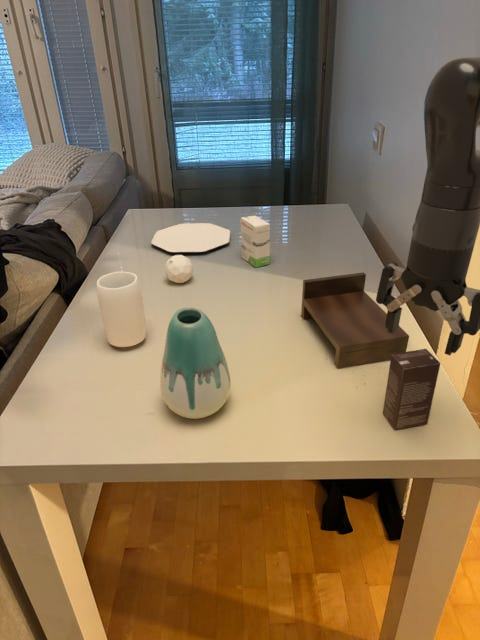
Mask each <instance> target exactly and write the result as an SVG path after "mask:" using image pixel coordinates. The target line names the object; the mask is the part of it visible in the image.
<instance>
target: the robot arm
mask: <svg viewBox="0 0 480 640" xmlns="http://www.w3.org/2000/svg"><path fill="white" fill-rule="evenodd" d="M423 104H424V105H423V123H424V124H423V126H424V139H425V152H426V161H427V168H426V172H425V177H424V182H423V188H422V193H421V198H420V203H419V206H418V209H417V210H416V211H417V212H416V215H415V218H414V223H413V225H412V230H411V231H412V234H411V240H410V244H409V250H408V255H407V261H406V267H405V268H404V267H401V266H399V264H398V263H397V262H395V261H392V262H390V263H389V264H387V265H385V267H383V268H382V271H381V275H380V279H379V283H378V288H377V292H376V297H375V302H376V303H377V304H378V305H383V306H384V307H385V308H386V310H387V312H386V313H387V317H386V323H385V326H386V328H388V333H391V334H393V333H394V332H395V331H396V330H397V329H398V327H399V326H400V320H401V316H402V311H403V307H401V306H403V305H404V304H406V303H407V302H408V301H410V300H411V301H412V302H413V304H414V305H415V306H418V307H425V308H427V309H429V310H430V311H434V312H438V311H439V312H440V314H441V316H442V318H443V320H444V321H445V322H447V325H448V326H449V328H450V330H451V331H449V334H448V339H447V342H446V346H445V350H444V354H445V355H446V356H451V355H452V354H456V353H457V352H458V350H459V349H460V348H461V346H462V343H463V340H464V336H465V334H466V335H467V334H468V335H469V336H472V337H473V336H475V335H477V334H478V333H479V331H480V289H477V288H473V287H469V286H467V282H466V279H467V275H468V271H469V268H470V264H471V260H472V257H473V253H474V248H475V244H476V241H477V237H478V233H479V230H480V150H479V149H477V140H476V139H477V129H478V128H480V56H474V57H473V56H470V57H459V58H455V59H452V60H449V61H448V62H446V63H445V64H443V65H442V66H441V67H440V68H439V69H438V71H437V72H436V73H435V74H434V76H433V78H432V79H431V81H430V83H429V86H428V88H427V90H426V94H425V98H424V103H423ZM400 278H401V281H402V284H403V286H404V288H405V291H403V292H402V293H400V294H399V295H398V296H397V297H395V296H393V295H392V294H393V289H394V285H395V282H396V281H398V280H399V279H400ZM463 297H465V298H466V299H467V304H468V306H470V307H471V309H470V312H469V317H468V320H467V319H466V316H465V314H464V312H463V306H462V304H461V302H460V299H462V298H463Z"/></svg>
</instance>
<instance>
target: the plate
mask: <svg viewBox="0 0 480 640" xmlns="http://www.w3.org/2000/svg"><path fill="white" fill-rule="evenodd" d="M153 235H154V236H153V238H152V239H151V241H150V244H151V245H152V246H154V247H156V248H158V249H160V250H163V251H164V252H167V253H170V254H198V253H199V254H200V253H201V254H203V253H208V252H209V251H212V250H215V249H217V248H220V247H222V246H226V245H228V244H229V243H230V239H231V230H230V229H228V228H225V227H223V226H219V225H216V224H213V223H209V222H203V223H200V222H199V223H198V222H197V223H194V222H192V223H191V222H190V223H178V224H175V225H172V226H169V227H166V228H162V229H159V230H157V231H156V232H155V233H154V234H153Z"/></svg>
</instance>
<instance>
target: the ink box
mask: <svg viewBox="0 0 480 640" xmlns="http://www.w3.org/2000/svg"><path fill="white" fill-rule="evenodd" d="M240 242H241V243H240V245H241V247H240V251H241V253H240V255H241V258H242V259H243V260H245V262H247V263H248V264H250V265H251V266H253V267H254V268H259V267H260V268H261V267H265V266H267V265H271V223H269V222H267V221H266V220H264V219H263V218H261V217H259V216H258V215H249V216H248V215H247V216H242V217H240Z"/></svg>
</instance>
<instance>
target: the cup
mask: <svg viewBox="0 0 480 640" xmlns="http://www.w3.org/2000/svg"><path fill="white" fill-rule="evenodd" d="M96 292H97V300H98V306H99V311H100V316H101V321H102V324H103V328H104V331H105V332H104V333H105V335H106V338H107V342H108V344H110V345H112V346H114V347H118V348H126V347H132V346H136V345H138V344H140V343H142V342H143V341H144V340H145V339H146V337H147V324H146V314H145V307H144V299H143V293H142V289H141V285H140V281H139V277H138V276H137V274H135V273H133V272H130V271H113V272H110V273H106V274H103V275H102V276H100V277H98V279H97V280H96Z"/></svg>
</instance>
